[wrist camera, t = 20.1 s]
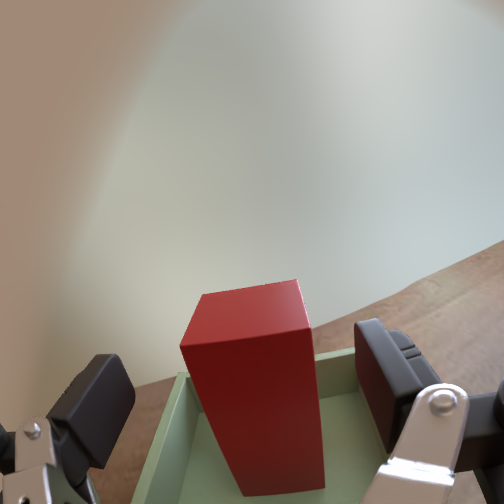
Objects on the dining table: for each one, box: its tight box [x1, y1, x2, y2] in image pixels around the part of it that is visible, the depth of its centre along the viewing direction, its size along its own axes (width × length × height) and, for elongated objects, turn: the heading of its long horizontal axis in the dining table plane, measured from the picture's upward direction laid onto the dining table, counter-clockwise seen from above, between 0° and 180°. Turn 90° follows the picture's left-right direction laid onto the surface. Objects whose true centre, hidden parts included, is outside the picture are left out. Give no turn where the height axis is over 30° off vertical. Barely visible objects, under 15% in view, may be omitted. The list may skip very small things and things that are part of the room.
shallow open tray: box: [131, 347, 392, 504], centre depth 16 cm, size 15×14×5 cm
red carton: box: [180, 279, 325, 497], centre depth 15 cm, size 5×5×12 cm
